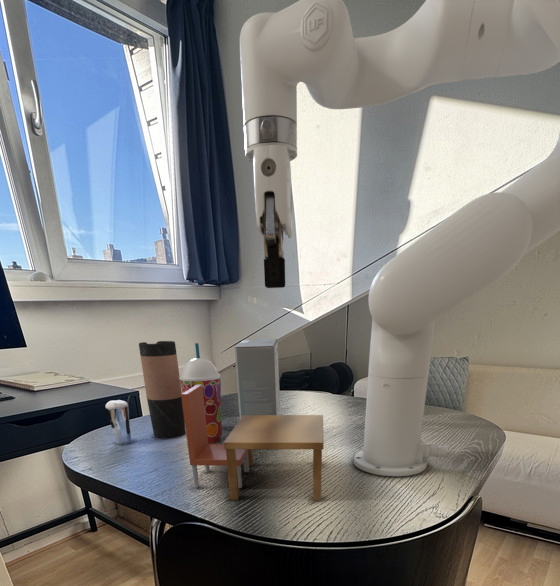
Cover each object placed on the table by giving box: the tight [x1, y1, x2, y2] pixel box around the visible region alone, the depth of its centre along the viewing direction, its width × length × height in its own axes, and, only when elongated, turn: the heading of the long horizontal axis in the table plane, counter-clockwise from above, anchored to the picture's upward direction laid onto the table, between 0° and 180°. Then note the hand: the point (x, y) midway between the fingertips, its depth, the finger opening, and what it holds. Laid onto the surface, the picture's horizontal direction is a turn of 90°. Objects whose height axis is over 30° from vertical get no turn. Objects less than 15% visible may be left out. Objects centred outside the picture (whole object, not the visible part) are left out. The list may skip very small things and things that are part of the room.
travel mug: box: [138, 340, 186, 440], centre depth 91 cm, size 8×8×20 cm
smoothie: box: [179, 342, 223, 444], centre depth 85 cm, size 8×8×20 cm
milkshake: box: [105, 395, 132, 445], centre depth 88 cm, size 5×5×10 cm
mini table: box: [223, 414, 325, 502], centre depth 66 cm, size 14×16×9 cm
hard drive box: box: [234, 338, 281, 420], centre depth 86 cm, size 16×8×20 cm, turn 178°
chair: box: [181, 385, 250, 489], centre depth 65 cm, size 8×8×15 cm
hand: (275, 287), depth 66 cm, fingers closed
